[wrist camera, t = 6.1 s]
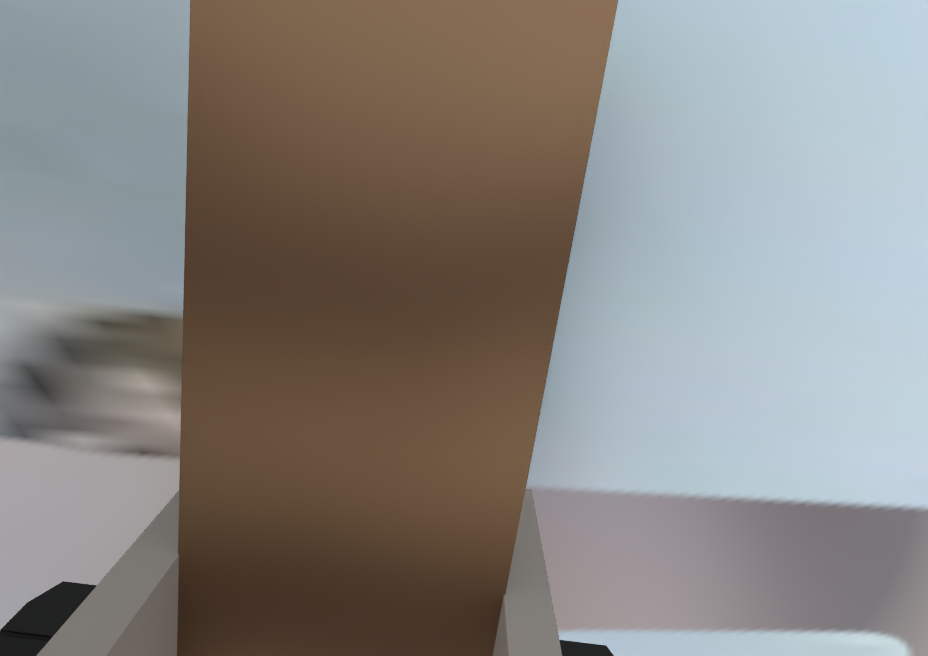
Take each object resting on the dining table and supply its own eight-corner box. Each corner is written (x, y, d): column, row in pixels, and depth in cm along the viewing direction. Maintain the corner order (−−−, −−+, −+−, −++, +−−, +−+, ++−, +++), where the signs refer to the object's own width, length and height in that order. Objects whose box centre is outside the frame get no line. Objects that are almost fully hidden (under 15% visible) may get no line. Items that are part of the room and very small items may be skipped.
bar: (417, 891, 18) (398, 1156, 13) (245, 872, 18) (164, 1134, 13) (592, -132, 11) (683, -345, 6) (316, -177, 11) (200, -430, 6)
